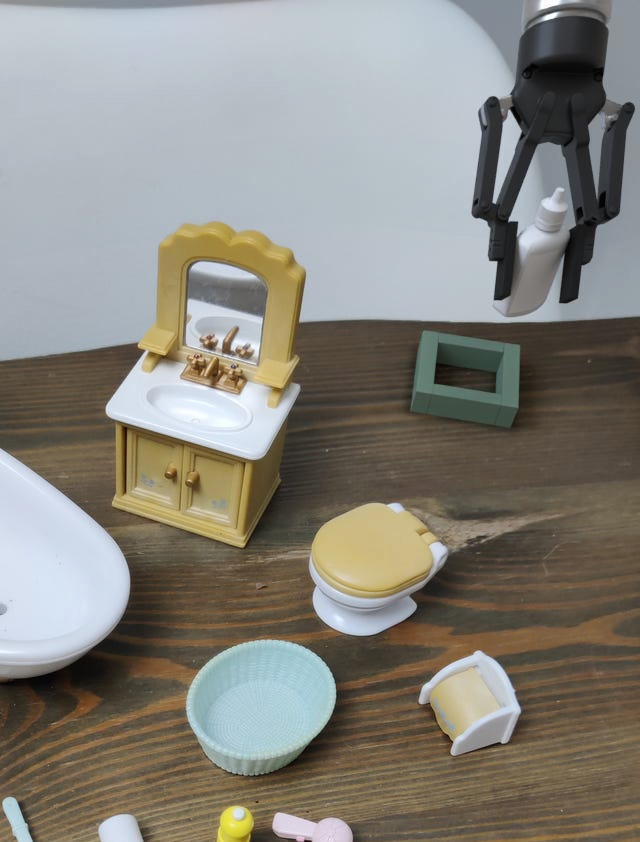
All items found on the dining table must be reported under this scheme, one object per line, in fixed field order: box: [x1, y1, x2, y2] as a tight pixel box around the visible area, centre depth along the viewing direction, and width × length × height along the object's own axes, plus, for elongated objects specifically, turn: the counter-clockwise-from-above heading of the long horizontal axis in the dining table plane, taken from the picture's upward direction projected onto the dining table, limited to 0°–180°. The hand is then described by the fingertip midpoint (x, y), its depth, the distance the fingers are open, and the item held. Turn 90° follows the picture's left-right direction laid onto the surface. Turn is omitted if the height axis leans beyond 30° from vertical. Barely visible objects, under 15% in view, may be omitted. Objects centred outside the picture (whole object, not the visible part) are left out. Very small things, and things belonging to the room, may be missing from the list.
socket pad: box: [409, 329, 521, 429], centre depth 111 cm, size 11×11×4 cm
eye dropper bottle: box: [491, 186, 570, 318], centre depth 92 cm, size 4×6×12 cm
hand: (535, 298), depth 92 cm, fingers closed on eye dropper bottle, 5 cm apart
